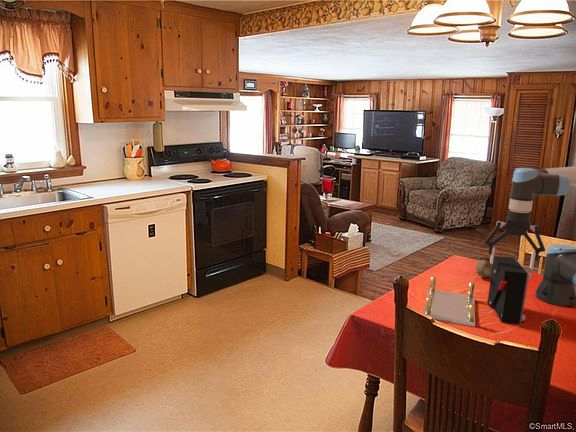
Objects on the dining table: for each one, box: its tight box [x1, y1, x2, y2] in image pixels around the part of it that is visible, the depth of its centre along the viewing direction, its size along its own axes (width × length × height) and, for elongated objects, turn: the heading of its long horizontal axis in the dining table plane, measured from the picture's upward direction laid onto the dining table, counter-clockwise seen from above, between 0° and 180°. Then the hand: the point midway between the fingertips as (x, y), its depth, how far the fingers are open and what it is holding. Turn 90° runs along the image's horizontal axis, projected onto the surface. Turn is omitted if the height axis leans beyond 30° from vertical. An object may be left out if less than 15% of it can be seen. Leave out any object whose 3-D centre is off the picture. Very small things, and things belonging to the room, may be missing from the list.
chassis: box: [423, 276, 476, 327], centre depth 176 cm, size 18×26×8 cm
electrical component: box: [487, 255, 533, 325], centre depth 171 cm, size 18×10×20 cm, turn 168°
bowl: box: [475, 255, 493, 278], centre depth 211 cm, size 18×14×10 cm
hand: (511, 265), depth 169 cm, fingers open, 13 cm apart
